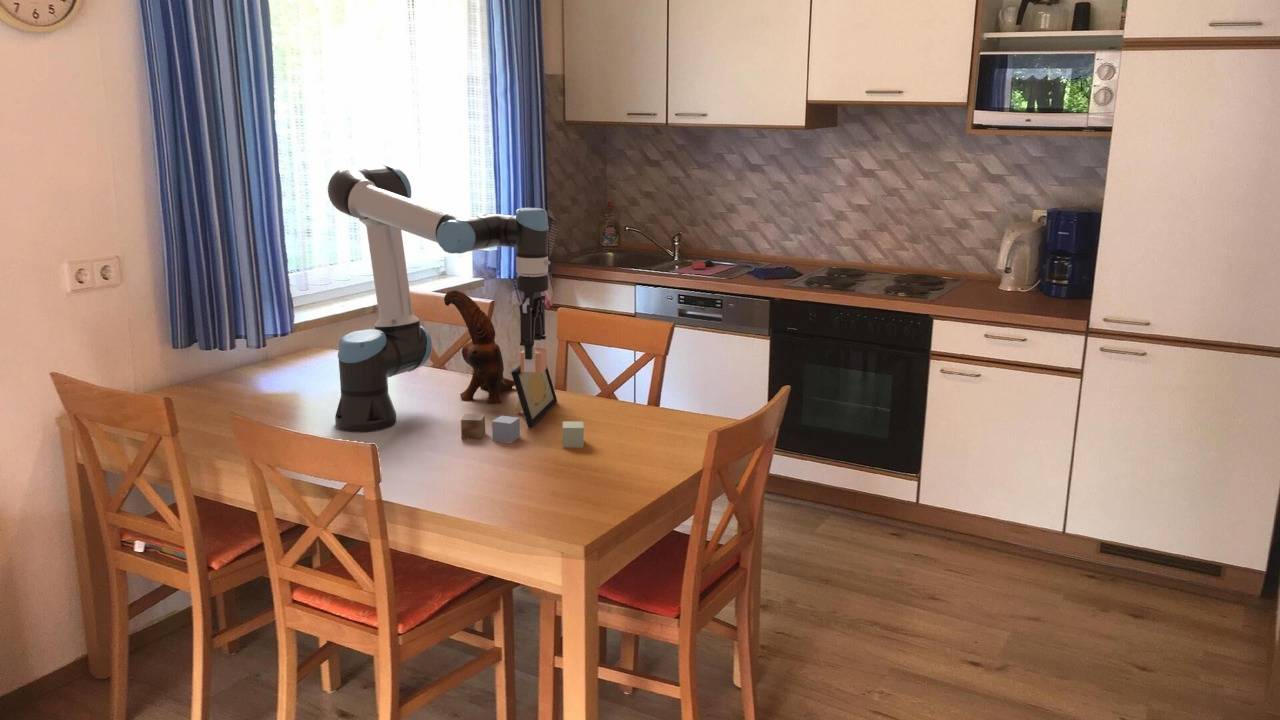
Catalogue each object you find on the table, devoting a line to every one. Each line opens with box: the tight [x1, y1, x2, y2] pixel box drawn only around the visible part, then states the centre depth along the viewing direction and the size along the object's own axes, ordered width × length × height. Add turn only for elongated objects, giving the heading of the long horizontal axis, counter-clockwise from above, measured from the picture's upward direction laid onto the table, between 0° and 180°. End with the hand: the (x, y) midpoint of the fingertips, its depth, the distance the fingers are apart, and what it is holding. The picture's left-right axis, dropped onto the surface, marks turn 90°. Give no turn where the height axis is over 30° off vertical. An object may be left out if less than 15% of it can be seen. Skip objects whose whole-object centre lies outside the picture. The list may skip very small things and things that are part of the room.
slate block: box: [491, 415, 521, 444], centre depth 246 cm, size 5×5×5 cm
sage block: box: [562, 421, 585, 448], centre depth 242 cm, size 5×5×5 cm
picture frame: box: [510, 364, 558, 429], centre depth 265 cm, size 23×9×15 cm, turn 168°
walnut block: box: [460, 413, 486, 440], centre depth 247 cm, size 5×5×5 cm
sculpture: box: [443, 290, 515, 405], centre depth 280 cm, size 19×18×30 cm
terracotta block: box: [520, 347, 548, 374], centre depth 242 cm, size 5×5×5 cm
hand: (533, 368), depth 243 cm, fingers closed on terracotta block, 5 cm apart
